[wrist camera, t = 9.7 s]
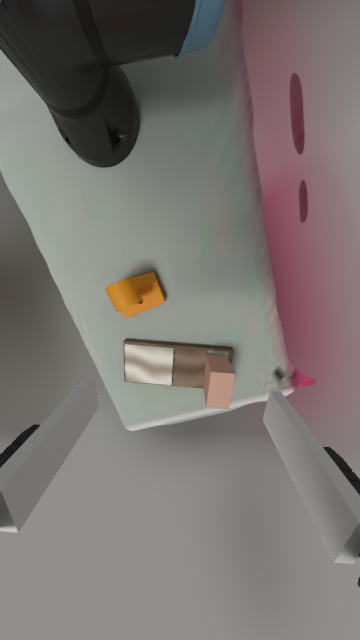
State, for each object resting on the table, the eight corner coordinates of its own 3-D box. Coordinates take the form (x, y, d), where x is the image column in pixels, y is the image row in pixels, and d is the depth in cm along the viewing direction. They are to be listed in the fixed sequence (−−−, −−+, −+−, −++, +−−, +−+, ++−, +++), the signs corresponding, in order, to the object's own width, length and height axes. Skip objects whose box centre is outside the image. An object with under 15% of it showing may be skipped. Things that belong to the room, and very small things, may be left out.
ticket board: (125, 339, 44) (122, 342, 42) (231, 347, 43) (233, 351, 41) (126, 378, 47) (123, 382, 45) (225, 386, 47) (226, 391, 45)
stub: (206, 354, 42) (211, 371, 35) (226, 355, 42) (235, 373, 34) (202, 384, 45) (206, 407, 37) (221, 385, 45) (228, 409, 37)
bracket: (128, 316, 42) (106, 331, 31) (114, 289, 41) (86, 295, 29) (166, 300, 41) (158, 310, 29) (154, 272, 39) (140, 271, 28)
